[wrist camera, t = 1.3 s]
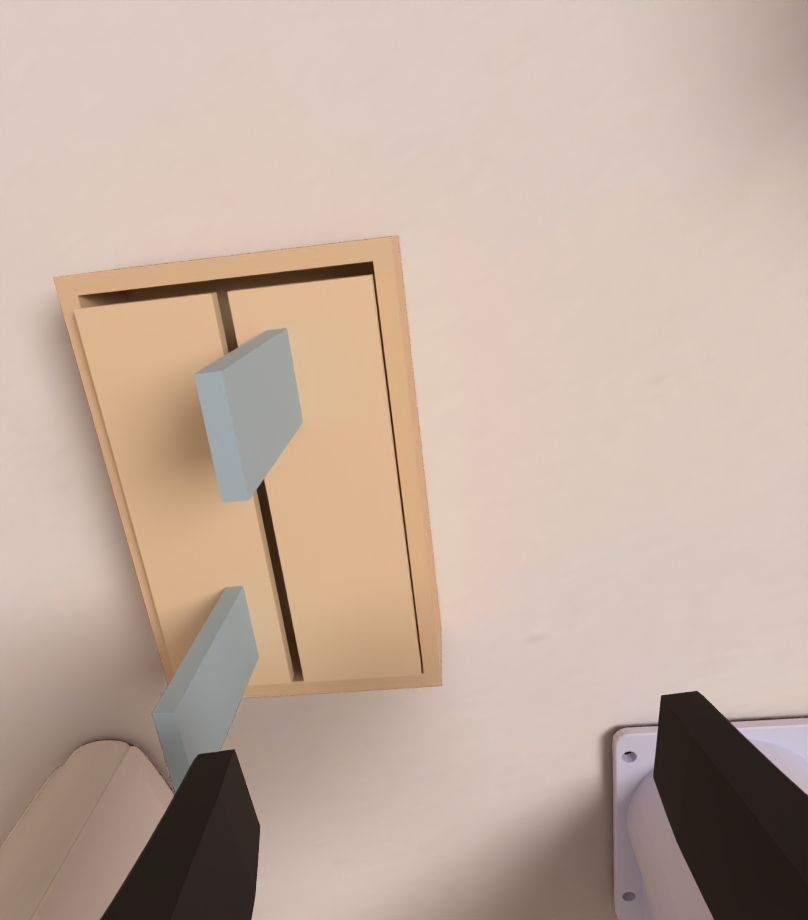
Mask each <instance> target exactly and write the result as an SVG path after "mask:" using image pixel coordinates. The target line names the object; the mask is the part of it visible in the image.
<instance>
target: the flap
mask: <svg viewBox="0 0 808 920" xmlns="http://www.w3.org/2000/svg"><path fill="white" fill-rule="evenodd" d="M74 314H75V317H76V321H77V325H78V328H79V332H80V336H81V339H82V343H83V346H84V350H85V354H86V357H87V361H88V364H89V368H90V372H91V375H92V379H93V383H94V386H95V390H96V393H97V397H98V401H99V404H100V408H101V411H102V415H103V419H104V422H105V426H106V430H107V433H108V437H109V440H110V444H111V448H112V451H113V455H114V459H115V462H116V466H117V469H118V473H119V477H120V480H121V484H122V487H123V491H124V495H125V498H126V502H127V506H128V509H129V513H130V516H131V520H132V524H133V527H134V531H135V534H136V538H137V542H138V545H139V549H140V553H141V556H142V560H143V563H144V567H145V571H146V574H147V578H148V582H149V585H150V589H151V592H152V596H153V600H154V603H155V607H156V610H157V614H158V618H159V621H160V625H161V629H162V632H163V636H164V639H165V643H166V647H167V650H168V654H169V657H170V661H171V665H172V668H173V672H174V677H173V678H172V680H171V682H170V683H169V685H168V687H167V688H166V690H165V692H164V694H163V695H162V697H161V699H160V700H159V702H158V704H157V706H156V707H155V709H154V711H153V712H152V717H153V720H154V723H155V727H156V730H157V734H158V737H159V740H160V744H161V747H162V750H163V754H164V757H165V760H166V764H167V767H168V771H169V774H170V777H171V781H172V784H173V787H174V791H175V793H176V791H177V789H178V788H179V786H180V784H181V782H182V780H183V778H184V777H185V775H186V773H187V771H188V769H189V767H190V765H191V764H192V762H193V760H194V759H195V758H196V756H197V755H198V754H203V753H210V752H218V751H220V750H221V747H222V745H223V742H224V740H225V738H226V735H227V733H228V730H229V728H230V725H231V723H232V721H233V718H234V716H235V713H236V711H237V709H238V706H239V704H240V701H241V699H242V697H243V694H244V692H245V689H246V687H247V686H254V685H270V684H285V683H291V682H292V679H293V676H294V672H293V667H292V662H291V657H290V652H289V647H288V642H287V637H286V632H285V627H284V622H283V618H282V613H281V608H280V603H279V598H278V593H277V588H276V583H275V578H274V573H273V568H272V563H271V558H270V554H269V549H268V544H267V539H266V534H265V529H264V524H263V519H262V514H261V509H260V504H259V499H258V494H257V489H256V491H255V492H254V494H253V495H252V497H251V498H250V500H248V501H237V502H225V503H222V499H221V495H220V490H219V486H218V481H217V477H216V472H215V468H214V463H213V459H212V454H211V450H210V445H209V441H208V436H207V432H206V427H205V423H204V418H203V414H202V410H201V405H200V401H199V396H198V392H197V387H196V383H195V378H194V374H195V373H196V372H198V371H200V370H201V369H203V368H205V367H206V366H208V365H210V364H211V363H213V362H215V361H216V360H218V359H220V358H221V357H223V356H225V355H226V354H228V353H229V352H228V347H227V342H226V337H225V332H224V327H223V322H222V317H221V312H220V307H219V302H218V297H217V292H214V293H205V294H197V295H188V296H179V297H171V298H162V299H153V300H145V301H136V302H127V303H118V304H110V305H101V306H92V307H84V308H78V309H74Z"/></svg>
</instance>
